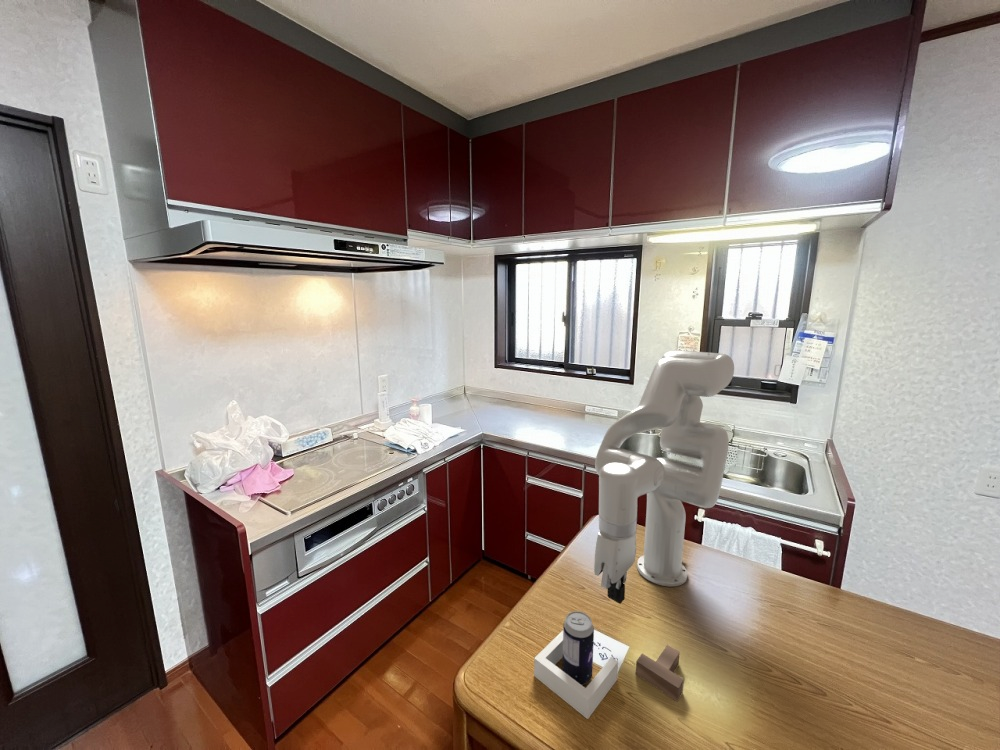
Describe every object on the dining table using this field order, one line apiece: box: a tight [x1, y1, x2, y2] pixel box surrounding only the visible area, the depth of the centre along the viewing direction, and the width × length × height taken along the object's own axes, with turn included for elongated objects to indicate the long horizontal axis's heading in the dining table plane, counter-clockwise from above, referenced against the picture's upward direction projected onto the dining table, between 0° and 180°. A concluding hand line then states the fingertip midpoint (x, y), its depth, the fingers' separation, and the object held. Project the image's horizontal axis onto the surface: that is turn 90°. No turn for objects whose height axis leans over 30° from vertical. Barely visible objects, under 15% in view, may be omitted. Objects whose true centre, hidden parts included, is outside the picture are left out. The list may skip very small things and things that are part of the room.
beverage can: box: [561, 610, 595, 686], centre depth 77 cm, size 6×6×12 cm
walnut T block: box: [635, 644, 685, 703], centre depth 78 cm, size 8×8×3 cm
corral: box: [533, 629, 619, 720], centre depth 78 cm, size 10×12×4 cm
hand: (616, 598), depth 87 cm, fingers closed
